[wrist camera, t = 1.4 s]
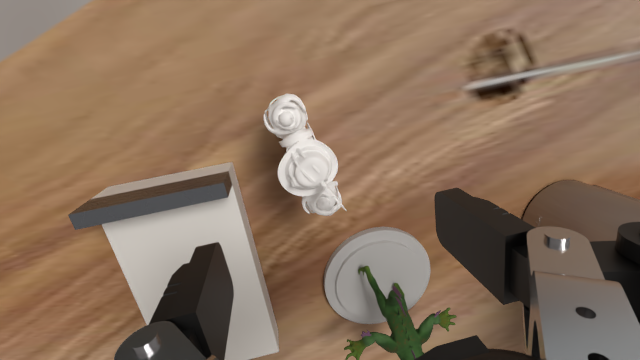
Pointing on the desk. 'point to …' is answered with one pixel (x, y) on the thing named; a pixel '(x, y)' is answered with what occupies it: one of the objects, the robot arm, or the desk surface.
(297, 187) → the white toy figure
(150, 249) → the shelf board
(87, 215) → the rail
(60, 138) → the desk surface
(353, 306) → the monster figurine
